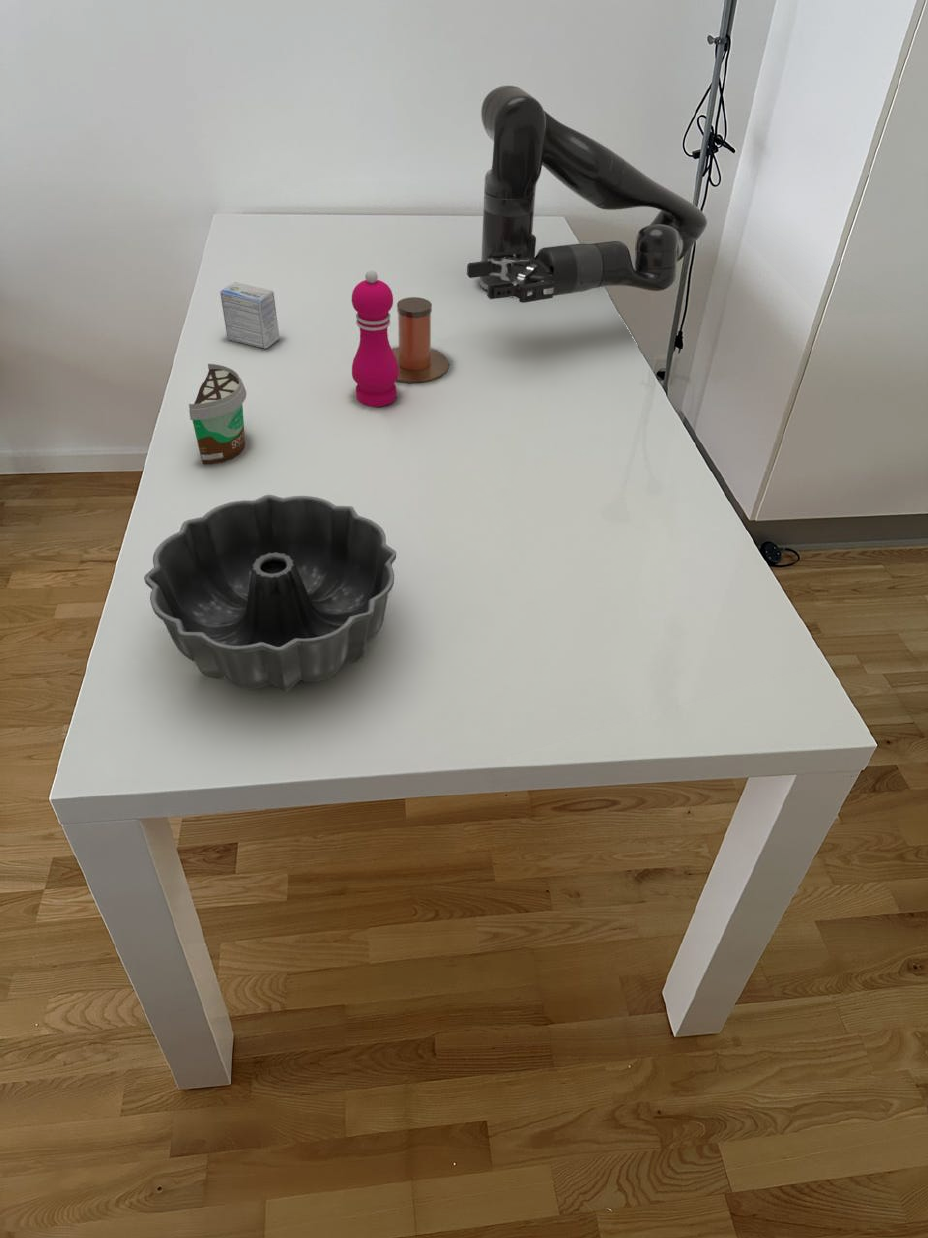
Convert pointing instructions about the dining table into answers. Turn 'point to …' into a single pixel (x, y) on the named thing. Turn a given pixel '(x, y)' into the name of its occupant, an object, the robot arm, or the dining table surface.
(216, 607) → the bundt pan
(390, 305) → the pepper mill
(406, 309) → the spice jar
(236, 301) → the medicine box
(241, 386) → the food container
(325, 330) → the dining table surface
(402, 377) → the cork coaster
